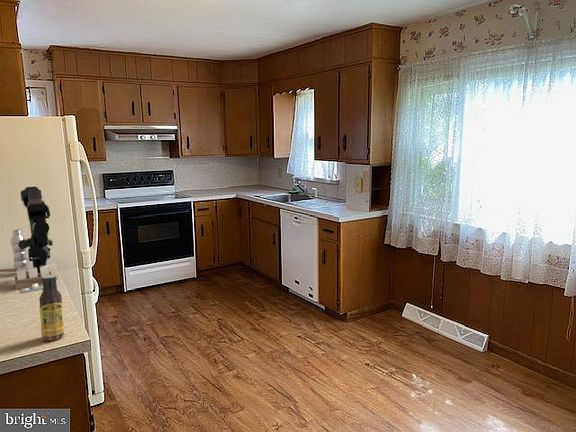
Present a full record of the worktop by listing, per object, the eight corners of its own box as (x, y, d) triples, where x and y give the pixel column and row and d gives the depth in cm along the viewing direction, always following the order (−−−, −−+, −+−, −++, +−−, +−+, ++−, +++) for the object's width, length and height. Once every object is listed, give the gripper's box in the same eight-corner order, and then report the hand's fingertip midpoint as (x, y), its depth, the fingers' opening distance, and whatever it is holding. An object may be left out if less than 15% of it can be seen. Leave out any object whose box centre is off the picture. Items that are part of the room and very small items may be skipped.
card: (21, 290, 182) (20, 285, 182) (48, 285, 187) (47, 280, 187) (21, 293, 178) (21, 287, 178) (49, 288, 184) (48, 283, 183)
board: (15, 284, 190) (14, 276, 190) (51, 278, 198) (50, 271, 197) (16, 290, 182) (15, 282, 182) (53, 284, 190) (52, 276, 189)
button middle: (29, 279, 190) (28, 268, 189) (37, 277, 192) (36, 267, 191) (29, 280, 187) (28, 269, 187) (38, 279, 189) (36, 268, 188)
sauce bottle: (43, 344, 130) (36, 280, 127) (41, 337, 135) (33, 276, 132) (67, 338, 134) (60, 276, 131) (64, 331, 139) (57, 272, 136)
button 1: (17, 281, 188) (16, 269, 187) (26, 279, 189) (25, 268, 189) (17, 282, 185) (16, 271, 184) (26, 281, 187) (25, 270, 186)
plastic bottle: (24, 271, 211) (19, 231, 208) (11, 271, 211) (5, 231, 208) (32, 267, 218) (27, 228, 215) (19, 267, 218) (14, 229, 215)
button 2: (40, 277, 192) (39, 266, 192) (49, 276, 194) (47, 265, 193) (41, 279, 190) (40, 268, 189) (49, 277, 192) (48, 266, 191)
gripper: (23, 229, 195) (27, 262, 197) (13, 236, 177) (18, 273, 180) (51, 227, 198) (54, 259, 201) (44, 234, 181) (48, 270, 184)
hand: (43, 265), depth 191 cm, fingers closed
